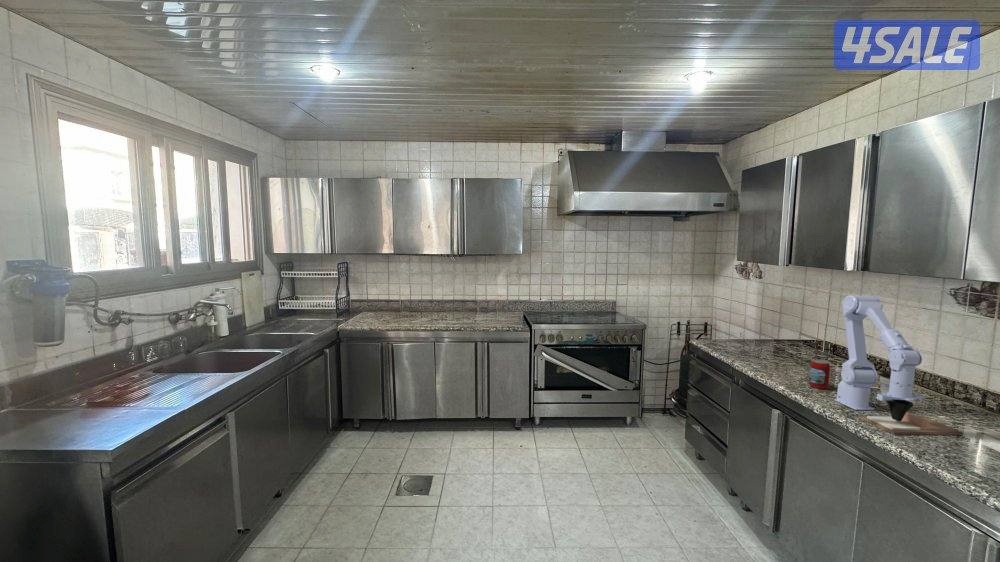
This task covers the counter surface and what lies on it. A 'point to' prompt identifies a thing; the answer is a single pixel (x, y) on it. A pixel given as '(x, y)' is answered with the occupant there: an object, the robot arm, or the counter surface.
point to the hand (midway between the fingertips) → (896, 419)
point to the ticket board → (908, 426)
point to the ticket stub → (919, 422)
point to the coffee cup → (885, 381)
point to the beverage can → (819, 374)
